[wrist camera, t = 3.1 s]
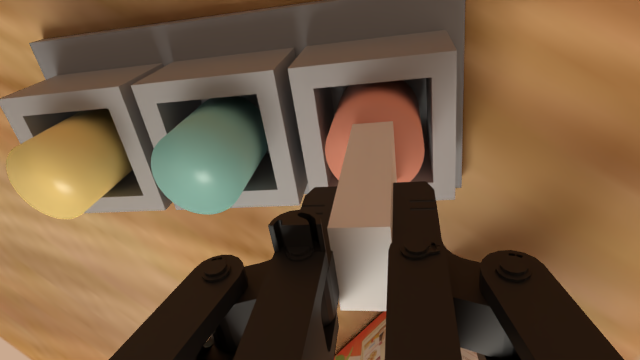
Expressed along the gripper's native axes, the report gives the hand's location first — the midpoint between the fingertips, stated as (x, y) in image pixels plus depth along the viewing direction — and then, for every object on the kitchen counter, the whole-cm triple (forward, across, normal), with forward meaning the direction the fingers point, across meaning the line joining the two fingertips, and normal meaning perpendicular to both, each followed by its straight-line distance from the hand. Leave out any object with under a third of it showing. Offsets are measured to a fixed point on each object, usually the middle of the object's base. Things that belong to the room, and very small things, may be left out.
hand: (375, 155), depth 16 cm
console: (+7, -7, 0) cm, 10 cm away
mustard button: (+4, -14, 0) cm, 15 cm away
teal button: (+4, -7, 0) cm, 8 cm away
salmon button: (+5, 0, 0) cm, 5 cm away
